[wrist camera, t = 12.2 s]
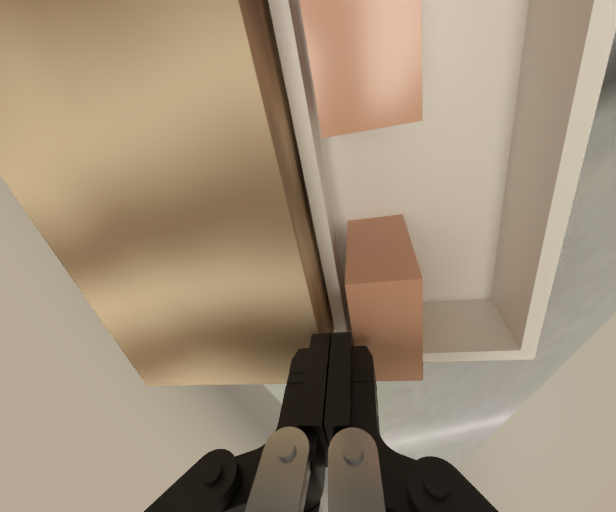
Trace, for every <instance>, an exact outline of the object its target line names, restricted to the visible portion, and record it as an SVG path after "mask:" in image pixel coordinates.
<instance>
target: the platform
mask: <svg viewBox="0 0 616 512" xmlns="http://www.w3.org/2000/svg"><path fill="white" fill-rule="evenodd" d="M0 175H1V177H2V178H3V180H4V181H5V183H6V184H7V186H8V187H9V189H10V190H11V191H12V193H13V194H14V196H15V197H16V199H17V200H18V202H19V203H20V204H21V206H22V207H23V209H24V210H25V211H26V213H27V214H28V216H29V217H30V219H31V220H32V222H33V223H34V224H35V226H36V227H37V229H38V230H39V231H40V233H41V235H42V236H43V237H44V239H45V240H46V242H47V243H48V245H49V246H50V247H51V249H52V250H53V252H54V253H55V255H56V256H57V257H58V259H59V260H60V262H61V263H62V265H63V266H64V267H65V269H66V270H67V272H68V273H69V275H70V276H71V278H72V279H73V280H74V282H75V283H76V285H77V286H78V287H79V289H80V290H81V292H82V293H83V295H84V296H85V298H86V299H87V300H88V302H89V303H90V305H91V306H92V308H93V309H94V311H95V312H96V313H97V315H98V316H99V318H100V319H101V320H102V322H103V323H104V325H105V326H106V328H107V329H108V330H109V332H110V333H111V335H112V336H113V338H114V339H115V341H116V342H117V344H118V345H119V346H120V348H121V349H122V351H123V352H124V353H125V355H126V356H127V358H128V359H129V361H130V362H131V364H132V365H133V367H134V368H135V369H136V371H137V372H138V374H139V375H140V376H141V378H142V379H143V381H144V382H145V384H146V385H147V386H167V385H168V386H170V385H232V384H233V385H235V384H287V379H288V375H289V370H290V365H291V360H292V358H293V357H294V355H295V354H296V352H297V351H298V349H299V348H309V346H310V340H311V335H312V334H317V333H334V323H333V318H332V313H331V308H330V303H329V298H328V293H327V288H326V283H325V278H324V273H323V269H322V264H321V259H320V254H319V249H318V244H317V239H316V234H315V229H314V224H313V219H312V214H311V209H310V204H309V200H308V195H307V190H306V185H305V180H304V175H303V170H302V165H301V160H300V155H299V150H298V145H297V140H296V135H295V131H294V126H293V121H292V116H291V111H290V106H289V101H288V96H287V91H286V86H285V81H284V76H283V71H282V66H281V61H280V57H279V52H278V47H277V42H276V37H275V32H274V27H273V22H272V17H271V12H270V7H269V2H268V0H0Z"/></svg>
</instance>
